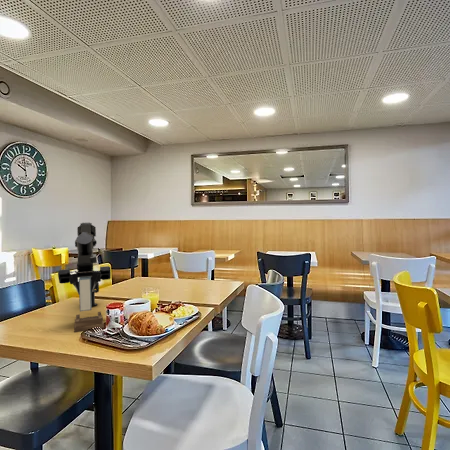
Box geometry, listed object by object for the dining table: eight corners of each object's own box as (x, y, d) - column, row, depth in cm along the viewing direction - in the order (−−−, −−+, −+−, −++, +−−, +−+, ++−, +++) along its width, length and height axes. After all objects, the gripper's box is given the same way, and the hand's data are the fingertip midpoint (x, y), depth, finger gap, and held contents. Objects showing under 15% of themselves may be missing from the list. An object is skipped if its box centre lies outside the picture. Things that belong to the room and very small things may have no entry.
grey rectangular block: (80, 308, 120) (79, 277, 120) (91, 306, 122) (90, 276, 121) (79, 311, 115) (78, 279, 115) (91, 310, 117) (90, 278, 117)
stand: (75, 322, 123) (75, 313, 122) (102, 318, 127) (102, 310, 127) (74, 332, 112) (73, 322, 112) (103, 327, 116) (103, 318, 116)
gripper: (57, 248, 118) (55, 282, 108) (109, 246, 125) (111, 277, 115) (60, 266, 126) (58, 300, 116) (109, 263, 133) (111, 294, 123)
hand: (85, 292), depth 117 cm, fingers closed on grey rectangular block, 4 cm apart
